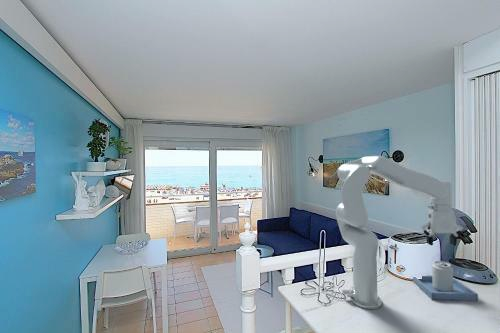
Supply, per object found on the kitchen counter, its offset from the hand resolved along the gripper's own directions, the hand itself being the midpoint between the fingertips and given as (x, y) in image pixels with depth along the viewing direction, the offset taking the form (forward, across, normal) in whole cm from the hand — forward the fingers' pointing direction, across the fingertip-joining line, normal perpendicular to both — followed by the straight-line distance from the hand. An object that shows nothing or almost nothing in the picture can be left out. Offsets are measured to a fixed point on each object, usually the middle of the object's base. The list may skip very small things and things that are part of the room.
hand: (441, 244), depth 110 cm
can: (+21, 0, -1) cm, 21 cm away
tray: (+21, 0, 0) cm, 21 cm away
